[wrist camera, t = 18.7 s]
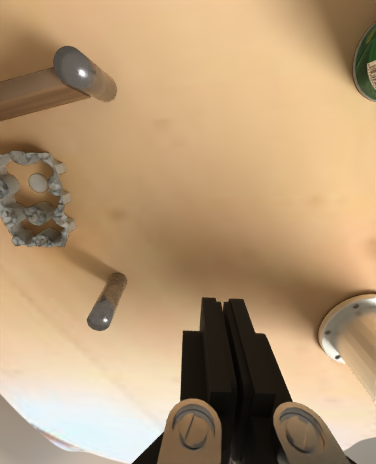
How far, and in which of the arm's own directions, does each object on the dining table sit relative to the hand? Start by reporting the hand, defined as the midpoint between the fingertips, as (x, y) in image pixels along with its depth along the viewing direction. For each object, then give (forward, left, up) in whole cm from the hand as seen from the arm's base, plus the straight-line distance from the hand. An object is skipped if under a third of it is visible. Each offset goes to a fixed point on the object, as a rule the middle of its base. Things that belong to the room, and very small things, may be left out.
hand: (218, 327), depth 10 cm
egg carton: (+18, 0, -21) cm, 28 cm away
